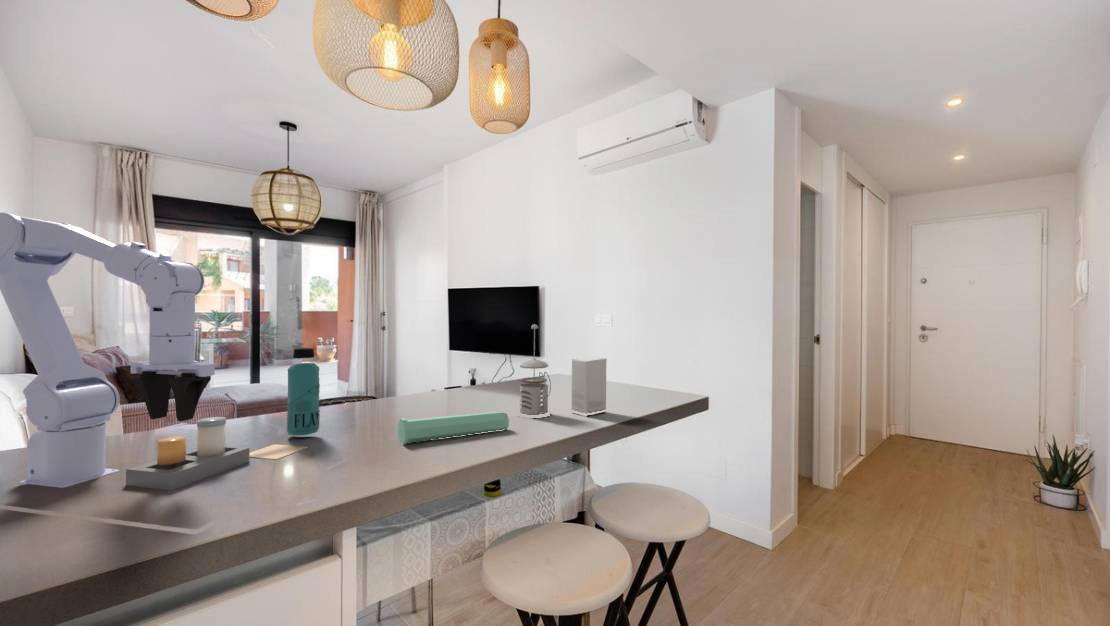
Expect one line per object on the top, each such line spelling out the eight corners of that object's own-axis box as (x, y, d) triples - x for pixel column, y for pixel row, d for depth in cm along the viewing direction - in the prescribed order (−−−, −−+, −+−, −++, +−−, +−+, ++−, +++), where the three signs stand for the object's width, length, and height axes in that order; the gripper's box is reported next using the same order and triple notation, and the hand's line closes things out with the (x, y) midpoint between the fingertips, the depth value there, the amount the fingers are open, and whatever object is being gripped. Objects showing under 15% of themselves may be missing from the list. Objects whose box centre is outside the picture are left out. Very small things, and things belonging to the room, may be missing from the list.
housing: (125, 488, 73) (125, 469, 73) (208, 460, 87) (208, 444, 87) (172, 493, 71) (172, 473, 71) (249, 464, 85) (249, 447, 85)
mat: (240, 459, 88) (240, 455, 88) (274, 447, 96) (274, 444, 96) (276, 462, 86) (276, 459, 86) (307, 449, 94) (307, 446, 94)
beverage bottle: (289, 444, 98) (290, 349, 98) (283, 437, 103) (284, 347, 103) (323, 439, 102) (323, 348, 102) (315, 433, 107) (316, 346, 107)
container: (504, 403, 114) (400, 412, 101) (514, 417, 109) (406, 428, 96) (500, 424, 116) (396, 435, 103) (509, 438, 111) (402, 452, 98)
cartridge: (190, 468, 81) (190, 421, 81) (212, 461, 85) (212, 416, 85) (210, 470, 80) (210, 423, 80) (231, 462, 84) (231, 417, 84)
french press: (538, 409, 135) (539, 323, 135) (562, 417, 126) (563, 324, 126) (509, 413, 130) (510, 324, 129) (532, 421, 120) (533, 325, 120)
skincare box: (591, 409, 136) (592, 356, 136) (607, 413, 131) (608, 358, 131) (570, 413, 131) (570, 358, 131) (586, 417, 126) (586, 360, 125)
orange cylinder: (151, 463, 74) (151, 442, 74) (173, 457, 78) (173, 436, 78) (169, 465, 74) (169, 443, 74) (191, 458, 77) (191, 437, 77)
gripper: (109, 335, 73) (108, 421, 73) (184, 337, 70) (184, 427, 70) (156, 333, 80) (155, 412, 80) (226, 335, 77) (225, 417, 77)
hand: (171, 418), depth 76 cm, fingers open, 5 cm apart
